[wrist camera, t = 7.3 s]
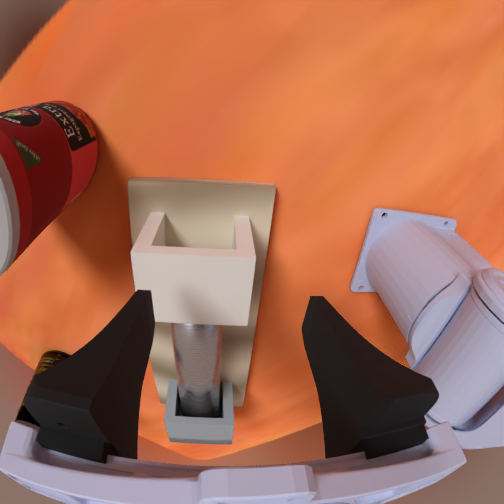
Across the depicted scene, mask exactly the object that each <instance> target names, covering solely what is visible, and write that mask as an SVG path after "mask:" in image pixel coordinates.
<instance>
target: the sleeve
mask: <svg viewBox="0 0 504 504" xmlns="http://www.w3.org/2000/svg"><path fill="white" fill-rule="evenodd" d="M130 253H131V261H132V269H133V277H134V284H135V291H137V290H138V289H139V290H151V294H152V302H153V310H154V317H155V322H170V323H187V324H207V325H237V326H247V325H248V317H249V310H250V302H251V294H252V286H253V279H254V271H255V263H256V255H255V249H254V243H253V237H252V232H251V226H250V220H249V217H248V216H234V226H233V238H232V249H211V248H190V247H168V246H166V236H165V213H162V212H151V213H150V215H149V217H148V219H147V220H146V222H145V224H144V226H143V228H142V230H141V232H140V234H139V236H138V238H137V240H136V242H135V244H134V246H133V248H132V250H131V252H130Z"/></svg>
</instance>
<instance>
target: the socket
mask: <svg viewBox="0 0 504 504" xmlns="http://www.w3.org/2000/svg"><path fill="white" fill-rule="evenodd" d="M164 423H165V426H166V430H167V433H168V436H169V440H170V442H181V443H197V444H232V439H233V431H234V411H233V392H232V382H223V385H222V400H219V415H218V418H201V417H183V415H182V410H181V401H180V395H179V388H178V381H177V380H173V379H169V382H168V390H167V399H166V409H165V418H164Z"/></svg>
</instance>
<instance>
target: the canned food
mask: <svg viewBox="0 0 504 504" xmlns="http://www.w3.org/2000/svg"><path fill="white" fill-rule="evenodd" d="M98 153H99V146H98V138H97V133H96V130H95V128H94V125H93V123H92V121H91V120H90V118H89V117H88V115H87V114H86V113H84V112H83V111H82V110H81V109H80V108H78V107H76V106H74V105H73V104H71V103H68V102H64V101H50V102H45V103H39V104H35V105H30V106H25V107H21V108H17V109H13V110H9V111H5V112H1V113H0V276H1V275H2V273H4V272H5V271H7V269H8V268H9V267H10V266H11V265H12V263H13V262H14V261H15V260H16V259H17V258H18V257H19V256H20V255H21V254H22V253H23V252H24V250H25V249H26V248H27V247H28V246H29V245H30V244H31V243H32V242H33V241H34V239H35V238H36V237H37V236H38V235H39V234H40V233H41V232H42V231H43V230H44V229H45V228H46V227H47V226H48V225H49V224H50V223H51V222H52V221H53V220H54V219H55V218H56V217H57V216H58V215H59V214H60V213H61V212H62V211H63V210H64V209H65V208H66V207H67V206H68V205H69V204H70V203H71V202H73V201H74V200H75V199H76V198H77V197H78V196H79V195H80V194H81V193H82V192H83V191H84V190H85V188H86V187H87V186H88V184H89V183H90V180H91V178H92V176H93V174H94V171H95V168H96V165H97V161H98Z"/></svg>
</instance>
